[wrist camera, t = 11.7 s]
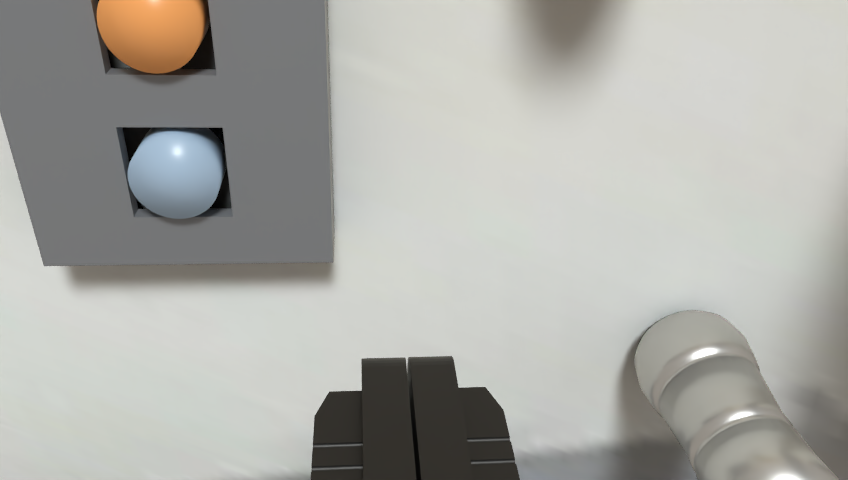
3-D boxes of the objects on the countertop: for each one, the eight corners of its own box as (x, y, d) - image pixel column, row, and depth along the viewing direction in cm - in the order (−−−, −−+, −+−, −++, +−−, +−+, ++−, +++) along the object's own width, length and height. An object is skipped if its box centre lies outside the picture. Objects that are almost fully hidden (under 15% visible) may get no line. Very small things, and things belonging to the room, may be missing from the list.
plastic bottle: (605, 335, 45) (756, 668, 28) (704, 276, 43) (928, 595, 26) (653, 393, 48) (815, 725, 31) (747, 340, 46) (974, 663, 29)
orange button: (204, -39, 31) (193, -26, 29) (215, 55, 33) (206, 74, 31) (105, -41, 30) (87, -28, 28) (122, 54, 32) (107, 73, 30)
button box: (317, -330, 27) (313, -341, 24) (334, 231, 39) (333, 262, 37) (-88, -353, 26) (-137, -368, 23) (64, 233, 38) (43, 266, 36)
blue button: (222, 118, 34) (214, 140, 32) (231, 194, 36) (223, 218, 34) (134, 118, 34) (120, 139, 32) (148, 194, 36) (135, 219, 34)
